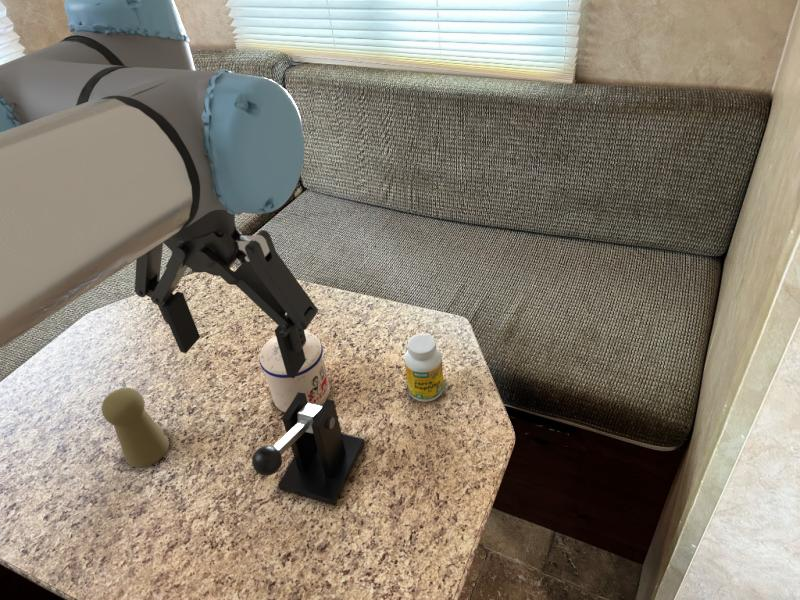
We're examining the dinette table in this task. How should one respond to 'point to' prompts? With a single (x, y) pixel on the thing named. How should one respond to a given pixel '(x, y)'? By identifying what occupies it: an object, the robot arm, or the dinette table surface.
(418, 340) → the supplement bottle
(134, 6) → the robot arm
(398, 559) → the dinette table surface
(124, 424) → the olive green pawn
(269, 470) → the lever with black knob
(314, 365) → the teacup with lid
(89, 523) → the dinette table surface
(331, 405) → the black lever base
